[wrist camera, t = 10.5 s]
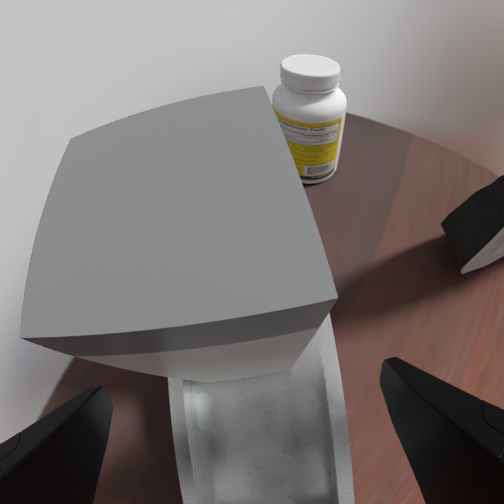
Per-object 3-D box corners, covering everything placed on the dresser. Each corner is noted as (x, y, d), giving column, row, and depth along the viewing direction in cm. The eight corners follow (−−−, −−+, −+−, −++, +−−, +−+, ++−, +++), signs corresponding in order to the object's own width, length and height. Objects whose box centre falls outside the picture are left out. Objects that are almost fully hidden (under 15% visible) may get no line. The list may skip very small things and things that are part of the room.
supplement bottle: (293, 137, 25) (293, 46, 17) (345, 157, 24) (361, 63, 15) (263, 171, 23) (254, 68, 15) (320, 196, 22) (335, 89, 13)
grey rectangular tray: (345, 512, 11) (358, 534, 8) (205, 524, 11) (190, 547, 8) (309, 261, 19) (315, 234, 16) (181, 278, 19) (163, 255, 16)
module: (289, 370, 14) (338, 298, 3) (208, 382, 14) (19, 337, 3) (274, 294, 17) (263, 86, 5) (199, 307, 17) (71, 139, 5)
